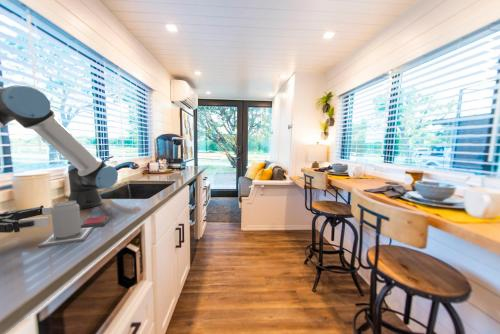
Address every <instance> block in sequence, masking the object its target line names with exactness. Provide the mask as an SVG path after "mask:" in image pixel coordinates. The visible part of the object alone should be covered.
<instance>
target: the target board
mask: <svg viewBox="0 0 500 334" xmlns="http://www.w3.org/2000/svg"><path fill="white" fill-rule="evenodd" d="M94 229H95V227H88V228H81V231H80V232H79V234H77V235H75V236H73V237H69V238H63V239H59V238H57V237H54V232H52V233H51V234H50V235H49V236H48V237H47V238H45V239H44V240H43V241H41V243H39V245H38V248H43V247H49V246H50V247H51V246H58V245H63V244H72V243H78V242H84V241H86V238H88V236H90V234H91V233H92V231H93V230H94Z"/></svg>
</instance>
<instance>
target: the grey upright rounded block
mask: <svg viewBox="0 0 500 334" xmlns="http://www.w3.org/2000/svg"><path fill="white" fill-rule="evenodd" d="M52 207H53V208H52V209H51V212H52V215H51V219H52V233H54V237H57V238H59V239H63V238H69V237H73V236H75V235H77V234H79V232H80V231H81V225H82V223H81V213H80V210H81V209H79V205H78V204H77V203H76V201H68V200H65V201H59V202H56V203H54V204H53V206H52Z"/></svg>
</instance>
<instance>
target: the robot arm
mask: <svg viewBox="0 0 500 334" xmlns="http://www.w3.org/2000/svg"><path fill="white" fill-rule="evenodd" d="M51 104H52V103H51V101H50V99H49V98H48V96H47V95H46V94H45V93H44V92H42V91H41V90H39V89H38V88H35V87H33V86H30V85H29V86H28V85H21V84H20V85H16V84H15V85H10V86H6V87H3V88H2V87H1V88H0V129H1V128H4V127H5V126H6V125H7V124H9V123H10V122H12V121H16V123H19V124H20V125H21V126H22V127H23V128H24V129H29V130H33V131H35V133H36V134H37V135H39V136H40V137H41V138H42V139H43V140H44V141H45V142H46V143H48V144H49V145H50V146H51V147H52V148H54V149H55V150H56V151H57V152H58V153H59V154H60V155H61V156H62V157H64V158H65V159H66V160H67V161H68V162H69V163H70V164H69V165H68V167H67V175H68V181H69V192H70V193H69V197H68V199H67V201H76V203H77V204H78V205H79V210H81V209H88V208H94V207H97V206H100V205H102V204H103V198H102V197H101V195H100V193H99V192H100V191H98V189H101V190H102V189H109V188H112V187H113V186H115V184H116V183H117V181H118V179H119V177H118V176H119V173H118V171H117V170H118V169H116V168H115V167H114V166H111V165H107V163H105V162H104V161H103V160H102V159H101V158H96V157H95V156H93V154H91V152H90V151H89V150H87V148H86V147H85V146H83V145H82V143H81V142H79V141H78V140H77V138H76V137H75V136H74V135H73V134H72V133H71V132H69V131H68V129H67V128H66V127H64V125H62V123H61V122H60V121H59V120H58V119H57V118H56V112H55V110H54V109H52V107H51ZM53 207H54V206H47V207H44V204H43V205H40V206H36V207H30V208H25V209H18V210H11V211H7V210H6V211H3V212H1V213H0V233H3V234H4V233H13V232H14V233H20V231H21V230H20V229H30V228H31V229H32V228H39V227H47V226H50V219H49V218H50V217H49V216H52V212H51V209H52V208H53ZM41 215H42V217H40V216H41ZM37 216H39V217H37Z"/></svg>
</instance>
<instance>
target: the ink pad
mask: <svg viewBox="0 0 500 334" xmlns="http://www.w3.org/2000/svg"><path fill="white" fill-rule="evenodd" d="M109 220H110V215H107V216H106V215H105V216H96V217H95V216H94V217H89V218H86V220H84V221H83V222H82V223H81V228H88V227H94V228H96V227H104V226H106V224H107V223H108V221H109Z"/></svg>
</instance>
